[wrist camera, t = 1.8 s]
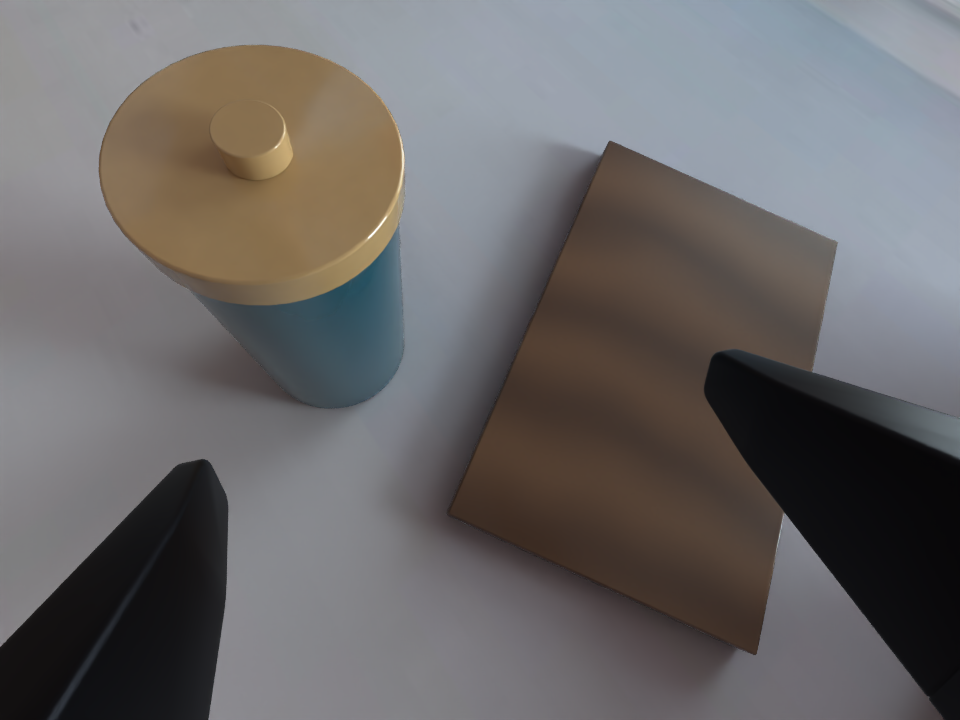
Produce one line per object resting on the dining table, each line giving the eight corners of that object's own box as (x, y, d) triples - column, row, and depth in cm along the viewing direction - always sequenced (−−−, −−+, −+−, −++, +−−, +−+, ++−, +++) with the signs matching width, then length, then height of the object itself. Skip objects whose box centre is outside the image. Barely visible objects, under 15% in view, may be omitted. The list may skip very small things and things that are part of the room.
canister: (367, 437, 23) (308, 319, 10) (230, 375, 23) (-4, 177, 10) (431, 313, 25) (452, 85, 12) (307, 256, 25) (198, -28, 12)
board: (739, 649, 22) (757, 656, 21) (445, 514, 22) (447, 513, 21) (822, 252, 29) (838, 241, 28) (602, 154, 29) (609, 139, 28)
